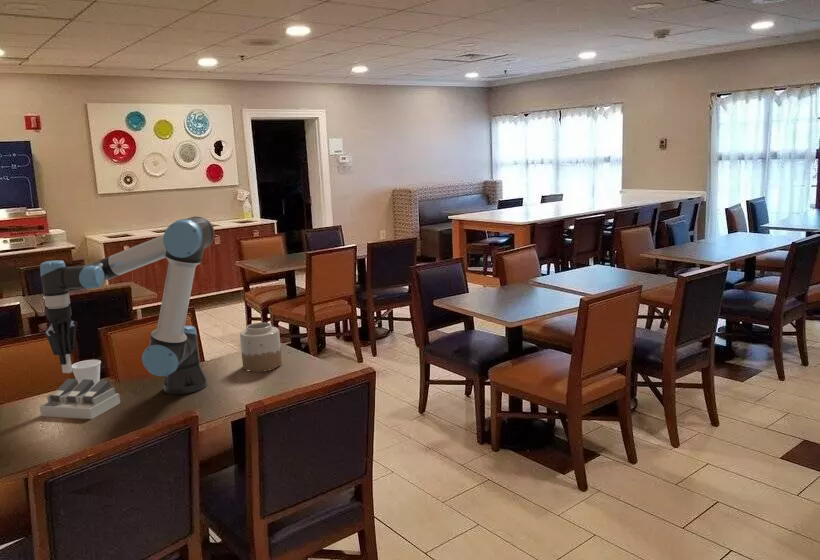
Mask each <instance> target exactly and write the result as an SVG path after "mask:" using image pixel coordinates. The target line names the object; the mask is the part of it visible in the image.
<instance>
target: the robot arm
mask: <svg viewBox="0 0 820 560" xmlns="http://www.w3.org/2000/svg"><path fill="white" fill-rule="evenodd" d="M214 239H215V229H214V226H213V224H212V223H211V221H210V220H209V219H206V218H204V217H202V216H191V217H188V218H182V219H181V218H180V219H178V220H175V221H174V222H173V223H171V224H170V225H168V227H167V228H166V229H165V231H164V233H163V235H161V236H158V237H157V236H156V237H155V238H152V239H150V240H147V241H144V242H142V243H139V244H137V245H134V246H131V247H130V248H127V249H124V250H121V251H119V252H117V253H114V254H111V255H109V256H107V257H104V258H101V259H98V260H96V261H93V262H90V263H86V264H84V265H80V266H66V263H65V261H64V260H62V259H61V260H60V259H59V260H57V259H56V260H47V261H44V262H41V263H40V264H39V270H40V280H41V285H42V286H41V287H42V290H43V292H42V293H43V299H44V305H45V307H46V309H45V312H46V313H45V314H46V318H47V319H48V321H49V323H48V326H49V327H48V328H47V329H46V330H44V331H43V333H44V335H45V336H46V337H47V341H48V343H49V346H50V348H51V351H52V354H53V355H54V356H58V358H59V364H60V365H61V370H62V374H71V373H73V370H72V365H73V364H72V359H73V358H72V354H73V353H74V351H75V349H76V340H77V339H76V338H77V326H78V321H74V320H72V318H71V316H72V314H73V313H72V306H71V297H70V292H69V290H71V289H72V290H73V289H74V290H75V289H77V290H80V289H82V290H83V289H84V290H85V289H88V290H91V289H98V288H101V287H102V286H103V284H104V282H106V281H109V280H113V279H114V278H116V277H119V276H121V275H123V274H126V273H129V272H132V271H134V270H136V269H139V268H141V267H144V266H147V265H149V264H152V263H155V262H157V261H160V260H163V259H166V260H167V262H168V265H167V271H166V276H165V283H164V288H163V294H162V298H161V299H162V300H161V305H160V308H159V314H158V315H159V316H158V322H157V325H156V326H157V328H156V329H153V331H151V333H150V337H149V338H150V339H149V344H148V346H147V347H146V348H145V350H143V353H142V355H141V361H142V362H141V363H142V364H143V367H144V368H145V369H146V370H147V371H148V373H149V374H151V375H153V376H157V377H164V381H163V391H164V392H165V393H166V394H168V395H169V394H170V395H185V394H190V393H194V392H198V391H201V390H203V389H204V388H206V387H207V385H208V379H207V376H206V374H205V372H204V370H203V368H202V366H201V362H200V352H199V350H200V349H199V341H198V334H197V333H198V332H197V329H196V327H195V326H193V325H186V320H187V315H188V309H189V304H190V299H191V294H192V289H193V284H194V278H195V272H196V268H197V266H198V265H200V264H202V262H203V256H204V251H205V249H207V248H208V247H210V245H211V244H212V243H213V242H214Z"/></svg>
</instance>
